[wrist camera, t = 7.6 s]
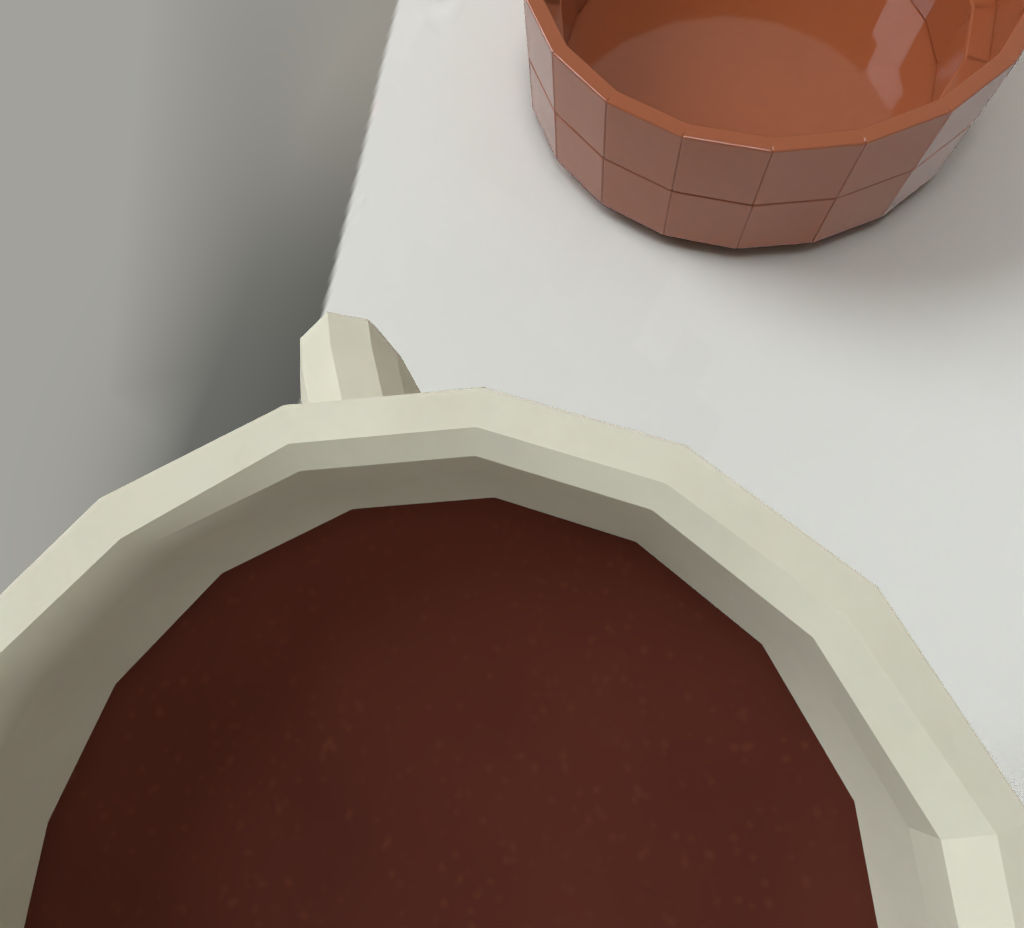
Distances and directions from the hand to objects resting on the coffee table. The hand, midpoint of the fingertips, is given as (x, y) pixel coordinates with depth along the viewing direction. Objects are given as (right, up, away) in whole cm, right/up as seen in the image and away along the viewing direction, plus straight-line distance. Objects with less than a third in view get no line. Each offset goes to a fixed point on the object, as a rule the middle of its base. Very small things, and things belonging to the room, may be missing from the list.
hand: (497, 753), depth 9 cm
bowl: (+10, +21, +21) cm, 31 cm away
